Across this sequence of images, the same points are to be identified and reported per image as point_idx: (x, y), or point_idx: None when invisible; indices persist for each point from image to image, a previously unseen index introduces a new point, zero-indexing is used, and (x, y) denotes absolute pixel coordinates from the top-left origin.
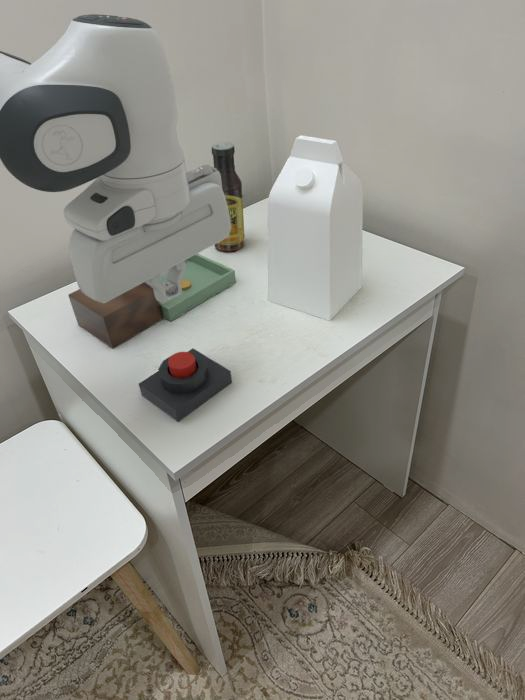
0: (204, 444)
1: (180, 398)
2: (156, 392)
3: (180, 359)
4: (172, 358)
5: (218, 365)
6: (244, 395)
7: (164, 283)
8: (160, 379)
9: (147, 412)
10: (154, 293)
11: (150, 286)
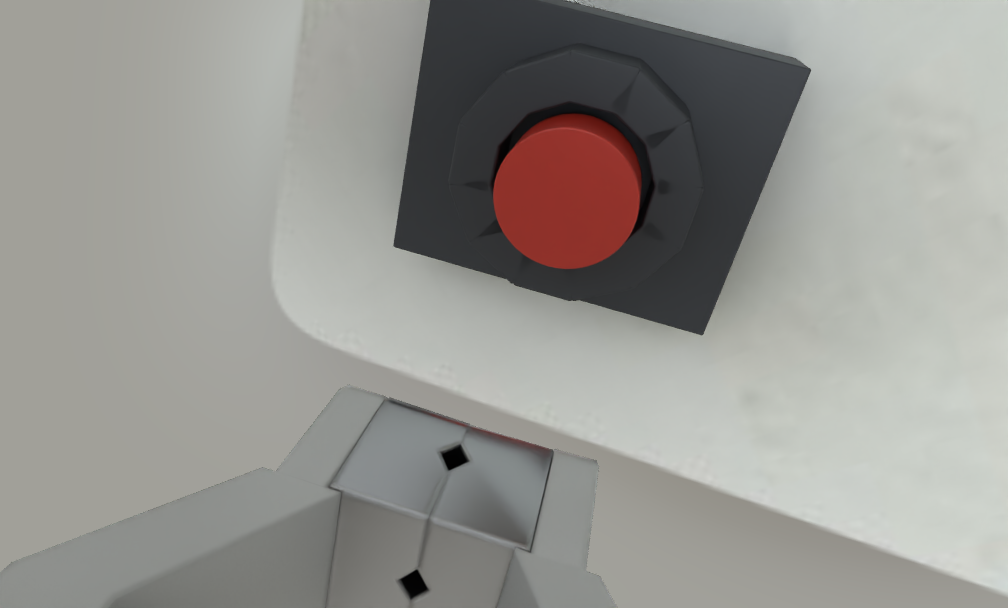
0: (385, 353)
1: (455, 228)
2: (432, 106)
3: (566, 194)
4: (553, 150)
5: (718, 270)
6: (648, 375)
7: (427, 548)
8: (512, 64)
9: (391, 75)
10: (317, 421)
11: (224, 486)
